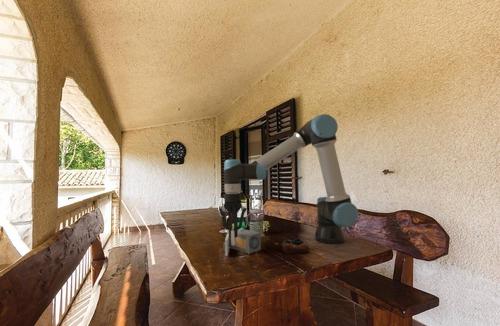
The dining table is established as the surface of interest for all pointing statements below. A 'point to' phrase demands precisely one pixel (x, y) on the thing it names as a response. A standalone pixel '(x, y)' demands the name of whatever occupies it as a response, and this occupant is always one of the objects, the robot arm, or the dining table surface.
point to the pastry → (295, 246)
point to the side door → (226, 245)
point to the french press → (256, 221)
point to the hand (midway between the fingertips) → (233, 244)
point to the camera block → (247, 241)
